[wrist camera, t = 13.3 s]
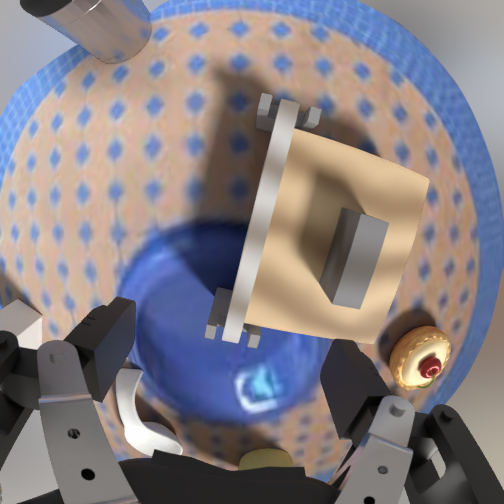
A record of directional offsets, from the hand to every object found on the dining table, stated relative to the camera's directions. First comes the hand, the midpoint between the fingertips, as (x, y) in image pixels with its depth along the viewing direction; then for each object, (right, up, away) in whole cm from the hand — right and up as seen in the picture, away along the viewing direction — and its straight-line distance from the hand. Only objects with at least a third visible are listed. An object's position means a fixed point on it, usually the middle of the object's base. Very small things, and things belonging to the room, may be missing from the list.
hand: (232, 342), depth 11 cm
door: (+10, +4, +18) cm, 21 cm away
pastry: (+29, -14, +32) cm, 45 cm away
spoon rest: (-19, -27, +35) cm, 48 cm away
